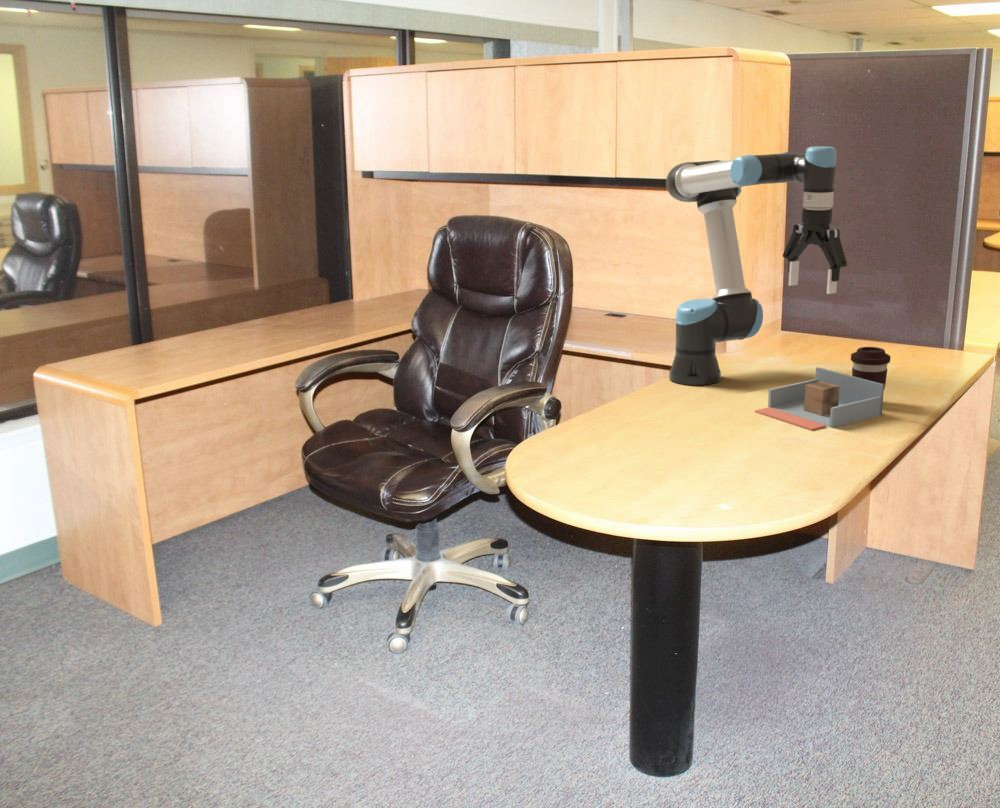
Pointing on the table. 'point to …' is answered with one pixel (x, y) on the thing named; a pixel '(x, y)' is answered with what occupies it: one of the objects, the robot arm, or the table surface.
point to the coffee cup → (870, 364)
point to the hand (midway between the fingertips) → (811, 289)
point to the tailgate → (790, 419)
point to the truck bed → (854, 399)
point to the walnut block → (821, 397)
